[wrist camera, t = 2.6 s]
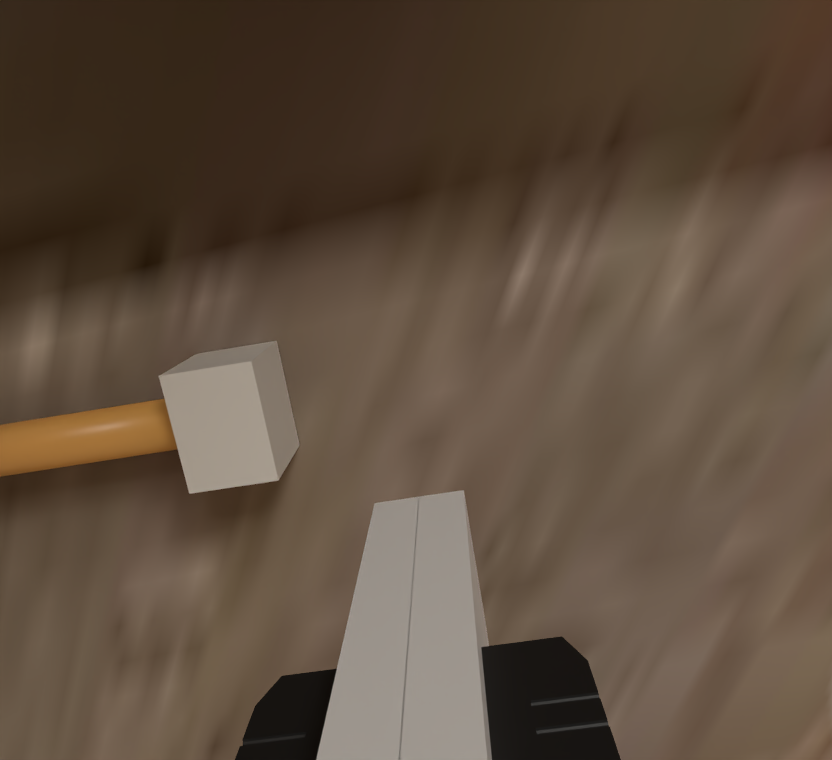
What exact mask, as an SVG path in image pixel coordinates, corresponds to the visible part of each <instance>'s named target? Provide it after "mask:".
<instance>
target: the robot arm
mask: <svg viewBox="0 0 832 760" xmlns="http://www.w3.org/2000/svg"><path fill="white" fill-rule="evenodd" d="M235 760H621V759H620V756H619V753H618V750H617V747H616V744H615V741H614V738H613V735H612V732H611V729H610V727H609V726H608V721H607V717H606V714H605V711H604V708H603V705H602V702H601V699H599V694H598V690H597V687H596V684H595V681H594V678H593V675H592V672H591V669H590V666H589V663H588V660H587V659H585V658H584V657H583V656H582V655H581V654H580V653H579V652H578V651H577V650H576V649H575V648H574V647H573V646H571V645H570V644H569V643H568V642H567V641H566V640H565V639H564V638H563V637H555V638H547V639H540V640H532V641H524V642H517V643H509V644H501V645H494V646H489V644H488V635H487V629H486V623H485V617H484V611H483V605H482V599H481V593H480V587H479V580H478V574H477V568H476V562H475V556H474V550H473V544H472V538H471V532H470V526H469V519H468V513H467V507H466V501H465V495H464V490H462V491H455V492H448V493H441V494H434V495H427V496H420V497H414V498H407V499H400V500H393V501H386V502H379V503H375V504H374V508H373V512H372V517H371V521H370V526H369V530H368V534H367V539H366V543H365V547H364V552H363V556H362V561H361V565H360V569H359V574H358V578H357V583H356V587H355V591H354V596H353V600H352V605H351V609H350V613H349V618H348V622H347V627H346V631H345V635H344V640H343V644H342V649H341V653H340V657H339V662H338V666H337V669H332V670H324V671H317V672H309V673H301V674H293V675H286V676H281V678H280V679H279V680H278V681H277V682H276V683H275V684H274V685H273V687H272V688H271V689H270V690H269V691H268V692H267V693H266V694H265V696H264V697H263V698H262V699H261V700H260V701H259V702H258V703H257V705H256V706H255V708H254V711H253V713H252V716H251V719H250V721H249V724H248V727H247V729H246V732H245V735H244V737H243V746H240V748H239V750H238V753H237V756H236V758H235Z"/></svg>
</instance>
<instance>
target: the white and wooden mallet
mask: <svg viewBox="0 0 832 760" xmlns="http://www.w3.org/2000/svg"><path fill="white" fill-rule="evenodd" d="M159 379H160V383H161V387H162V391H163V395H164V399H159V400H153V401H146V402H140V403H134V404H127V405H121V406H115V407H109V408H102V409H96V410H90V411H83V412H77V413H71V414H65V415H58V416H52V417H46V418H39V419H33V420H27V421H21V422H14V423H8V424H2V425H0V477H2V476H8V475H15V474H21V473H28V472H34V471H41V470H47V469H54V468H60V467H67V466H73V465H80V464H86V463H93V462H99V461H106V460H112V459H119V458H125V457H132V456H138V455H145V454H151V453H158V452H164V451H171V450H177V449H178V452H179V456H180V460H181V464H182V468H183V472H184V475H185V479H186V483H187V487H188V491H189V494H192V493H198V492H205V491H212V490H218V489H225V488H232V487H239V486H245V485H252V484H259V483H266V482H272V481H279V479H280V477H281V476H282V474H283V472H284V471H285V469H286V467H287V466H288V464H289V462H290V461H291V459H292V457H293V456H294V454H295V452H296V451H297V449H298V447H299V440H298V436H297V431H296V426H295V422H294V417H293V413H292V408H291V403H290V399H289V394H288V390H287V385H286V381H285V376H284V371H283V367H282V362H281V358H280V353H279V348H278V344H277V341H272V342H266V343H259V344H253V345H247V346H241V347H235V348H229V349H223V350H217V351H210V352H204V353H198V354H195V355H193V356H192V357H190V358H188V359H187V360H185V361H183V362H182V363H180V364H178V365H177V366H175V367H173V368H171V369H170V370H168V371H166V372H165V373H163V374H161V375H160V376H159Z"/></svg>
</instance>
